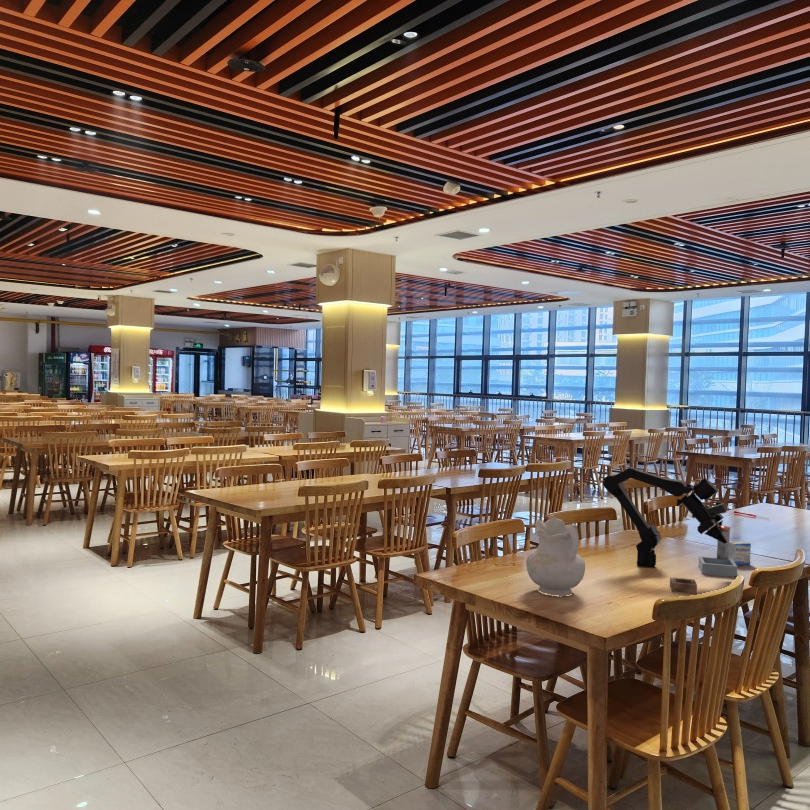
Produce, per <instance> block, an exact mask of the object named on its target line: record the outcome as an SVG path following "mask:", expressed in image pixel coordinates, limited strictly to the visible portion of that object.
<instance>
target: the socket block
mask: <svg viewBox="0 0 810 810" xmlns="http://www.w3.org/2000/svg"><path fill="white" fill-rule="evenodd" d="M669 588H670V590H671V592H672V593H679V594H681V593H682V594H691V595H698V584H697V582H696V580H695V579H694V578H684V577H683V578H682V577H672V576H670V577H669Z"/></svg>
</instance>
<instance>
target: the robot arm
mask: <svg viewBox="0 0 810 810" xmlns="http://www.w3.org/2000/svg"><path fill="white" fill-rule="evenodd" d="M630 479H633V480H636V481H638V482H642V483H643V484H644V483H645V484H648V485H650V486H655V487H656V488H659V489H661V490H663V491H665V492H666V493H668V494H670V495H672V496H673V497H676V498H677V497H680V498H677V499H676V507H680V506H681V505H683V506H684V507H685V509H687V511H688V512H689V513H690V514H691V517H692V518H693V519H696V521H697V523H699V525H698V526H697V532H698V533H699V534H700V535H703V534H704V535H706V536H709V537H710V538H713V539H714V540H716V541H720V542H722V543H724V544H725V543H727V541H726V539H725V538H724V536H723V535H722V533H721V532H720V530H719V526H723V522H724V520H723V519H724V518H725V517H724V516H723V515H722V514H725V513H727V512H728V508H727V505H726V504H725V502H722V501H717V502H714V504H715V505H713V506H709V505H706V504H704V503H703V502H702V501H703V500H704V501H708V500H709V499H711V498H712V497H713V496H715V495H716V494H717V493H718V492H719V489H718V488H717V487H716V485H715V484H714V483H712V482H711V481H710V480H708V479H707V478H706V477H703V478H702V479H701V480H700V481H699V482H698V483H697V484H696V485H694V484H688V483H686V482H685V480H681V479H676V478H669V477H668V478H665V477H662V476H659V475H656V474H653V473H650V472H647V471H643V470H642V469H641V470H640V469H638V468H636V467H633V466H631V467H628V468H626V469H625V470H623V471H620V472H618V473H617V474H615V473H614V474H613V473H612V474H609V475H607V476H605V477H604V478H603V481H602V485H603V487H604V489H606V490H607V492H608V493H610V494H611V496H613V497H614V498H615V499H616V500H617V501H618V503H619V504H620V505H621V507H622V509H623V510H624V511H625V513H626V515H627V516H628V517H629V519H630V520H631V521H632V523H633V524H634V525H635V528H636V529H637V531H638V536H639V538H640V540H641V541H640V542H638V544H636V546H635V547H636V550H637V551H636V552H637V555H636V557H637V559H636V567H638V568H639V567H640V568H641V567H643V568H651V569H655V567H656V565H657V554H656V553H655V548H656V547H657V546H658V545H659V544H660V543H661V540H662V536H661V531H659V530H658V529H657V528H658V527H657V526H656V525H655V524H652V525H651V524H650V523H648V522H647V520H646V519H645V518H644V516H643V515H642V514H641V511H639V509H638V508H637V506H636V505H635V503H634V502H633V500H632V499H631V497H630V496H629V495H628V493H627V492H626V488H625V484H624V482H626V481H628V480H630ZM691 492H692V493H691ZM690 493H691V494H690Z"/></svg>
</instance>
